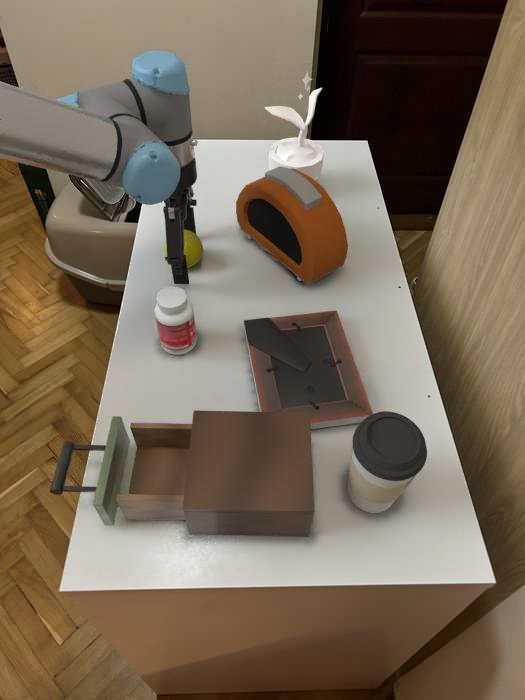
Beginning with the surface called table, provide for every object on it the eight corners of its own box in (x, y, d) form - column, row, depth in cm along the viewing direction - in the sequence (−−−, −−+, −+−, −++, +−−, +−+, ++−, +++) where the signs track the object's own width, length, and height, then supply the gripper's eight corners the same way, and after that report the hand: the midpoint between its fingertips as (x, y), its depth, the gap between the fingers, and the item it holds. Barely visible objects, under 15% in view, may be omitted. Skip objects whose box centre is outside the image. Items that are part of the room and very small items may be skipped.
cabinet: (189, 534, 70) (182, 508, 63) (198, 441, 79) (193, 410, 72) (308, 537, 70) (314, 511, 63) (305, 444, 79) (310, 412, 72)
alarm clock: (234, 230, 110) (232, 156, 96) (268, 213, 113) (270, 140, 100) (310, 294, 98) (319, 220, 85) (345, 273, 102) (359, 200, 89)
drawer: (53, 524, 70) (36, 503, 64) (75, 439, 78) (62, 414, 72) (215, 528, 70) (212, 507, 64) (221, 442, 78) (219, 418, 72)
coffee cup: (405, 466, 77) (432, 411, 65) (402, 527, 71) (432, 478, 59) (343, 454, 78) (359, 398, 66) (335, 513, 72) (351, 462, 61)
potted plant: (317, 176, 122) (329, 63, 102) (321, 207, 115) (335, 91, 95) (262, 176, 122) (264, 62, 102) (263, 207, 114) (265, 91, 95)
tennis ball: (160, 264, 103) (154, 236, 97) (184, 246, 106) (180, 217, 101) (186, 280, 100) (183, 251, 95) (211, 260, 104) (208, 232, 98)
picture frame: (243, 329, 93) (264, 437, 79) (243, 319, 91) (264, 428, 77) (335, 318, 95) (370, 422, 81) (337, 309, 93) (373, 413, 79)
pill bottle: (199, 352, 89) (194, 307, 81) (163, 359, 88) (153, 314, 80) (194, 325, 93) (188, 280, 84) (159, 331, 92) (149, 285, 83)
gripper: (187, 206, 78) (199, 305, 95) (202, 119, 93) (210, 217, 110) (136, 205, 78) (157, 304, 95) (159, 118, 94) (174, 217, 110)
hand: (185, 258), depth 102 cm, fingers open, 13 cm apart
